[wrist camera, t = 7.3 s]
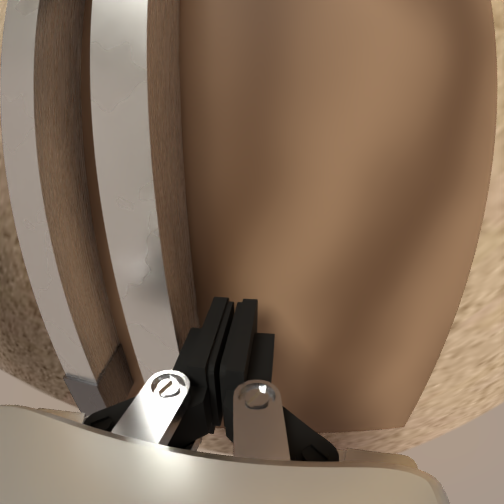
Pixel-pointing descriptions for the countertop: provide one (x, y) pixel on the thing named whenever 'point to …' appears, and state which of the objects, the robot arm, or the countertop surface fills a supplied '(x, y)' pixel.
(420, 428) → the countertop surface
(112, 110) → the tongs arm
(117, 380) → the tongs fixed arm
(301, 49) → the walnut board
